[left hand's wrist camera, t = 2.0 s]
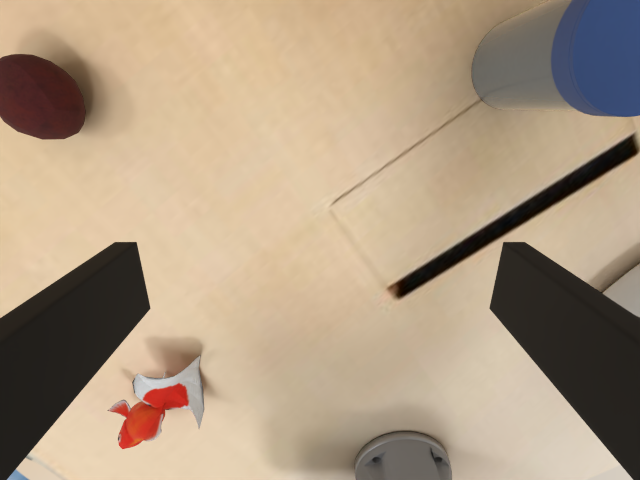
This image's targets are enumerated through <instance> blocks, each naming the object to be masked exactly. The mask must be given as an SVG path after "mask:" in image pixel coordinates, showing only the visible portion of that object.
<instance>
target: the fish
mask: <svg viewBox="0 0 640 480" xmlns="http://www.w3.org/2000/svg"><path fill="white" fill-rule="evenodd" d="M200 356H201V355H200ZM200 356H198V357H197V358H196V359H195V360H194V361H193V362H192V363H191V364H190V365H189V366H188V367H187V368H185V369H184V370H183V371H181V372H180V373H178V374H177V375H176V376H173V377H169V378H164V377H165V373H164V376H163V378H150V377H144V376H142V375H140V374H137V375H136V377H135V379H134V381H133V382H132V383H133V388H134V393H135V394H136V395H137V397H138V398H139V399H141V400H142V402H139V403H137V404H136V405H134V406H133V407H132V408H130V406H129V405H128V403H127V402H126V401H125V400H122V401H120V402H118V403H116V404H115V405H114V406H112V407H111V408H110V409H109V410H108V411H111V412H116V413H118V414H121V415H123V416H125V417H126V418H127V419H126V420H125V421H124V423H123V426H122V428H121V430H120V433H119V436H118V442H119V446H120V447H121V448H122V449H125V448H130V447H133V446H136V445H138V444H139V443H141V442H142V441H143V440H145V441H152V440H155V439H156V438H157V437H158V436H159V434H160V433H161V423H162V421H163V419H164V417H165V410H169V409H176V408H183V409H190V410H191V411H192V412H193V414H194V416H195V418H196V420H197V423H198V427H199V428H200V424H201V420H202V416H203V412H204V398H203V387H202V382H201V377H200V371H199V363H200Z"/></svg>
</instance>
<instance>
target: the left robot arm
mask: <svg viewBox="0 0 640 480" xmlns="http://www.w3.org/2000/svg"><path fill="white" fill-rule="evenodd" d="M149 310H150V304H149V299H148V295H147V290H146V285H145V280H144V276H143V271H142V266H141V261H140V257H139V252H138V247H137V242H115V243H113V244H112V245H110V246H109V247H107V248H106V249H104V250H103V251H101V252H100V253H98V254H97V255H95V256H94V257H92V258H91V259H89V260H88V261H86V262H84V263H83V264H81V265H80V266H78V267H77V268H75V269H74V270H72V271H71V272H69V273H68V274H66V275H65V276H63V277H62V278H60V279H59V280H57V281H56V282H54V283H53V284H51V285H50V286H48V287H47V288H45V289H44V290H42V291H41V292H39V293H38V294H36V295H35V296H33V297H32V298H30V299H29V300H27V301H26V302H24V303H23V304H21V305H20V306H18V307H17V308H15V309H14V310H12V311H11V312H9V313H8V314H6V315H5V316H3V317H1V318H0V480H7V479H8V477H9V476H10V475H11V474H12V473H13V471H14V470H15V469H16V468H17V467H18V466H19V464H20V463H21V462H22V461H23V460H24V458H25V457H26V456H27V455H28V454H29V452H30V451H31V450H32V449H33V448H34V446H35V445H36V444H37V443H38V442H39V441H40V439H41V438H42V437H43V436H44V435H45V433H46V432H47V431H48V430H49V429H50V427H51V426H52V425H53V424H54V423H55V421H56V420H57V419H58V418H59V417H60V415H61V414H62V413H63V412H64V411H65V410H66V408H67V407H68V406H69V405H70V404H71V402H72V401H73V400H74V399H75V398H76V396H77V395H78V394H79V393H80V392H81V390H82V389H83V388H84V387H85V386H86V385H87V383H88V382H89V381H90V380H91V379H92V377H93V376H94V375H95V374H96V373H97V371H98V370H99V369H100V368H101V367H102V365H103V364H104V363H105V362H106V361H107V360H108V358H109V357H110V356H111V355H112V354H113V352H114V351H115V350H116V349H117V348H118V346H119V345H120V344H121V343H122V342H123V340H124V339H125V338H126V337H127V336H128V335H129V333H130V332H131V331H132V330H133V329H134V327H135V326H136V325H137V324H138V323H139V321H140V320H141V319H142V318H143V317H144V315H145V314H146V313H147V312H148V311H149ZM490 310H491V311H492V312H493V313H494V314H495V315H496V317H497V318H498V319H499V320H500V321H501V323H502V324H503V325H504V326H505V327H506V329H507V330H508V331H509V332H510V333H511V335H512V336H513V337H514V338H515V339H516V340H517V342H518V343H519V344H520V345H521V346H522V348H523V349H524V350H525V351H526V352H527V354H528V355H529V356H530V357H531V358H532V360H533V361H534V362H535V363H536V364H537V365H538V367H539V368H540V369H541V370H542V371H543V373H544V374H545V375H546V376H547V377H548V379H549V380H550V381H551V382H552V383H553V385H554V386H555V387H556V388H557V389H558V390H559V392H560V393H561V394H562V395H563V396H564V398H565V399H566V400H567V401H568V402H569V404H570V405H571V406H572V407H573V408H574V410H575V411H576V412H577V413H578V414H579V415H580V417H581V418H582V419H583V420H584V421H585V423H586V424H587V425H588V426H589V427H590V429H591V430H592V431H593V432H594V433H595V435H596V436H597V437H598V438H599V439H600V441H601V442H602V443H603V444H604V445H605V446H606V448H607V449H608V450H609V451H610V452H611V454H612V455H613V456H614V457H615V458H616V460H617V461H618V462H619V463H620V464H621V466H622V467H623V468H624V469H625V470H626V471H627V473H628V474H629V475H630V476H631V477H632V479H633V480H640V317H638V316H636V315H634V314H632V313H631V312H629V311H628V310H626V309H625V308H623V307H622V306H620V305H619V304H617V303H616V302H614V301H613V300H611V299H610V298H608V297H607V296H605V295H604V294H602V293H601V292H599V291H598V290H596V289H595V288H593V287H592V286H590V285H589V284H587V283H586V282H584V281H583V280H581V279H580V278H578V277H577V276H575V275H574V274H572V273H571V272H569V271H568V270H566V269H565V268H563V267H562V266H560V265H559V264H557V263H556V262H554V261H552V260H551V259H549V258H548V257H546V256H545V255H543V254H542V253H540V252H539V251H537V250H536V249H534V248H533V247H531V246H530V245H528V244H527V243H525V242H503V247H502V252H501V257H500V261H499V266H498V271H497V276H496V280H495V285H494V290H493V295H492V299H491V304H490ZM355 476H356V480H452V471H451V466H450V462H449V459H448V456H447V453H446V451H445V449H444V448H443V447H442V445H441V444H440V443H439V442H437V441H436V440H435V439H433V438H431V437H429V436H427V435H424V434H420V433H416V432H395V433H390V434H386V435H383V436H380V437H378V438H376V439H374V440H372V441H371V442H369V443H368V444H367V445H365V446H364V447H363V448H362V450H361V451H360V452H359V454H358V456H357V458H356V461H355Z"/></svg>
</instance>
